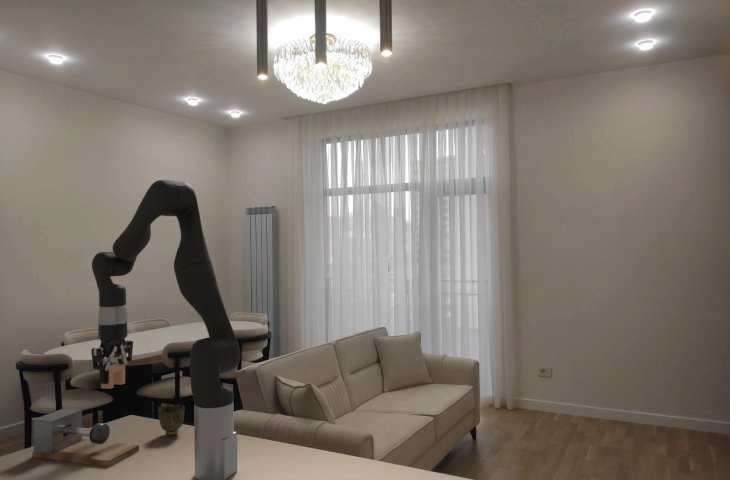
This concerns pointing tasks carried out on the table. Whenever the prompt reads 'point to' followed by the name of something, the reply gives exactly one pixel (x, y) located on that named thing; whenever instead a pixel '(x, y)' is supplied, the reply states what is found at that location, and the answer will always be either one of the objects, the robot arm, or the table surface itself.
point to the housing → (56, 430)
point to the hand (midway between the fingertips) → (113, 380)
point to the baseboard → (92, 453)
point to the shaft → (90, 432)
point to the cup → (171, 418)
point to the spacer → (115, 376)
